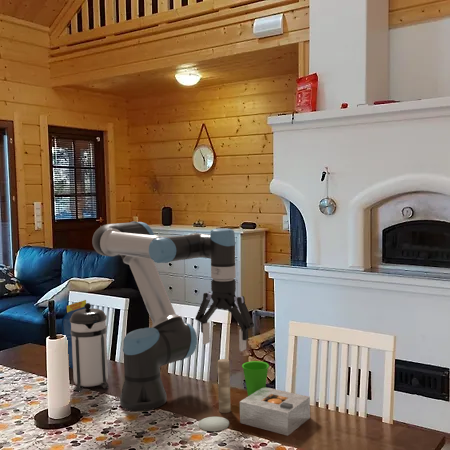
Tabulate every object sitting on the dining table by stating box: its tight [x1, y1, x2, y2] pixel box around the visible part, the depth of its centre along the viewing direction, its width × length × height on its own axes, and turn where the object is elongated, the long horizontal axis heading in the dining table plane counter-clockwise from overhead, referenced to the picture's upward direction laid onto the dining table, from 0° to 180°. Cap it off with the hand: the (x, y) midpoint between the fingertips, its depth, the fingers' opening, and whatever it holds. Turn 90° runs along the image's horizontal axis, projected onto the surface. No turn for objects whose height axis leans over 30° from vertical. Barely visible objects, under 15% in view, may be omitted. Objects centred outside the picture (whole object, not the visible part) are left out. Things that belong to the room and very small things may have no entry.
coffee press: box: [70, 302, 109, 393], centre depth 198 cm, size 17×16×30 cm
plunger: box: [268, 399, 282, 405], centre depth 165 cm, size 4×4×2 cm
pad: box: [198, 416, 230, 432], centre depth 163 cm, size 9×9×1 cm
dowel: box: [217, 358, 232, 414], centre depth 173 cm, size 4×4×16 cm
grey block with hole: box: [239, 386, 311, 437], centre depth 165 cm, size 16×14×7 cm
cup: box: [241, 360, 270, 397], centre depth 183 cm, size 9×9×11 cm
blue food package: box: [61, 299, 87, 369], centre depth 223 cm, size 6×12×25 cm, turn 156°
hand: (224, 346), depth 172 cm, fingers open, 13 cm apart
